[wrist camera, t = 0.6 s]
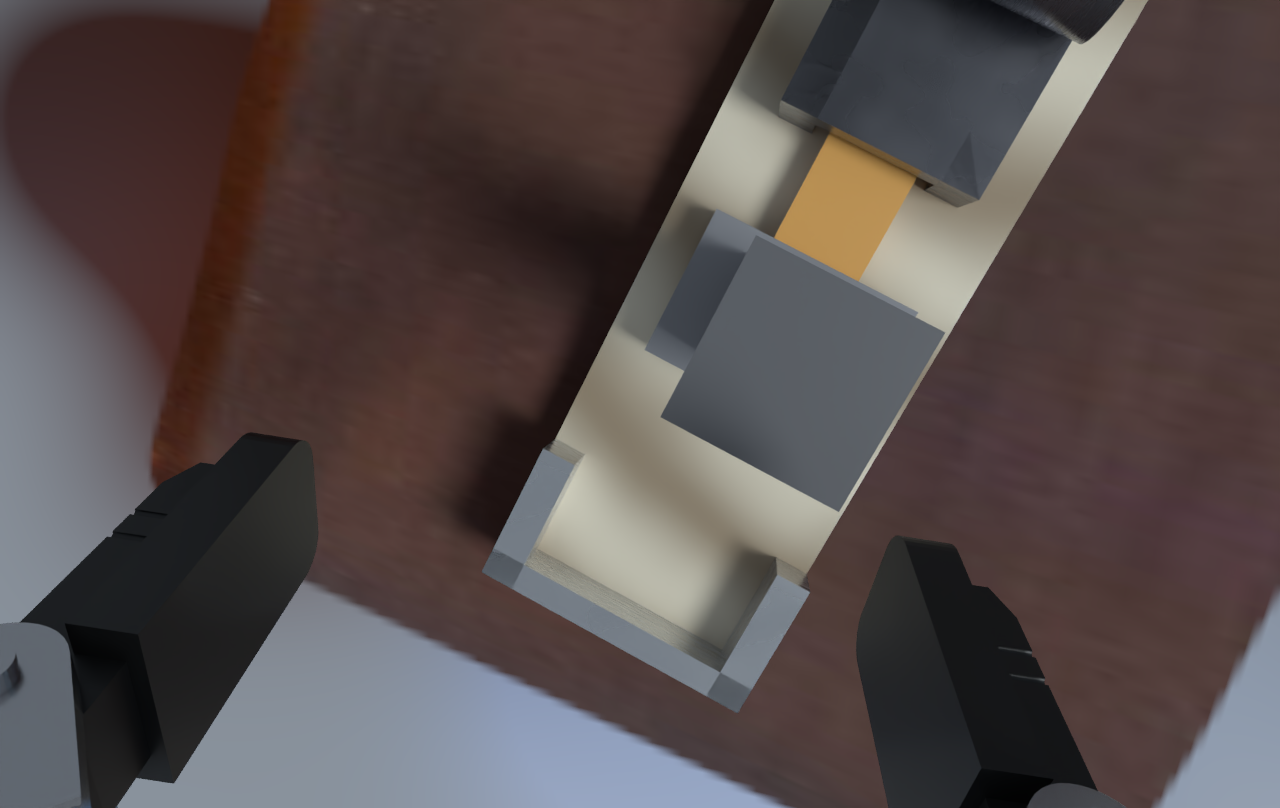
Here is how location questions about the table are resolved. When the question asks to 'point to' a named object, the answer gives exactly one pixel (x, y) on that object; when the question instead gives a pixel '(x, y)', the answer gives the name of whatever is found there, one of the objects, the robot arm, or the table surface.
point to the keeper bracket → (625, 620)
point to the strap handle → (797, 331)
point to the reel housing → (936, 80)
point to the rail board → (643, 383)
